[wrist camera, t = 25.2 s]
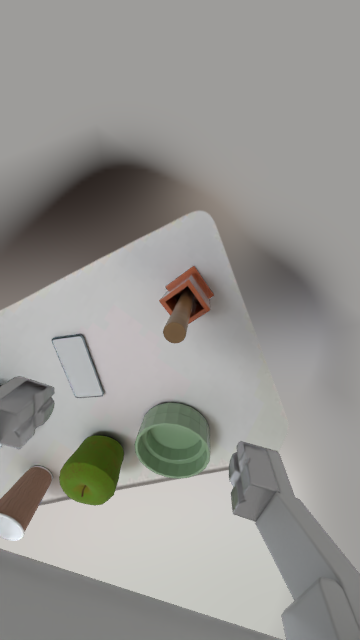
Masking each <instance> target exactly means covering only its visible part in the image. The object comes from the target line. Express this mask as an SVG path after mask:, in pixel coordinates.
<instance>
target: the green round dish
mask: <svg viewBox="0 0 360 640" xmlns="http://www.w3.org/2000/svg"><path fill="white" fill-rule="evenodd" d="M135 452H136V455H137V456H138V458H139V460H140V461H141V463H142V464H143V465H144V466H145V467H146V468H148V469H149V470H151V471H153V472H154V473H156V474H159V475H162V476H165V477H169V478H177V479H179V478H188V477H191V476H194V475H197V474H199V473H200V472H201V471H203V470H204V469H205V468H206V466H207V464H208V463H209V461H210V431H209V427H208V424H207V421H206V420H205V419H204V417H203V416H202V415H201V414H200V413H199V412H198V411H196V410H195V409H193V408H192V407H189V406H186V405H183V404H180V403H165V404H159V405H157V406H155V407H153V408H151V409H150V410H149V411H148V412H147V413H146V415H145V416H144V419H143V422H142V424H141V427H140V430H139V433H138V435H137V438H136V441H135Z"/></svg>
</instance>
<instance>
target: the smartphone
mask: <svg viewBox="0 0 360 640" xmlns="http://www.w3.org/2000/svg"><path fill="white" fill-rule="evenodd" d="M52 343H53V345H54V348H55V350H56V352H57V355H58V357H59V359H60V362H61V364H62V367H63V369H64V371H65V374H66V376H67V378H68V381H69V383H70V385H71V388H72V390H73V393H74V395H75V397H76V398H85V397H99V396H103V394H104V392H103V390H102V387H101V384H100V381H99V379H98V376H97V373H96V371H95V368H94V365H93V362H92V360H91V357H90V354H89V351H88V349H87V346H86V343H85V340H84V338H83V336H82V335H80V334H78V335H70V336H63V337H56V338H53V339H52Z"/></svg>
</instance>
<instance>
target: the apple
mask: <svg viewBox="0 0 360 640" xmlns="http://www.w3.org/2000/svg"><path fill="white" fill-rule="evenodd" d="M123 457H124V452H123V448H122V446H121V445H120V444H119V443H118V442H117V441H116V440H114V439H112V438H110V437H106V436H95V435H94V436H91V437H88V438H87V439H85V440H84V441H83V443H82V444H81V445H80V447H79V448H78V449H77V450H76V451H75V453H74V454H73V455H72V456H71V457H70V458H69V459H68V460H67V462H66V463H65V464H64V466H63V468H62V469H61V471H60V477H59V480H60V485H61V487H62V489H63V491H64V492H65V493H66V494H67V496H68V497H69V498H71V499H73V500H75V501H77V502H80V503H84V504H90V505H101V504H103V503H105V502H106V501H108V500H109V499H110V498H111V497H112V496H113V495H114V492H115V489H116V486H117V482H118V479H119V473H120V468H121V464H122V461H123Z"/></svg>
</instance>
